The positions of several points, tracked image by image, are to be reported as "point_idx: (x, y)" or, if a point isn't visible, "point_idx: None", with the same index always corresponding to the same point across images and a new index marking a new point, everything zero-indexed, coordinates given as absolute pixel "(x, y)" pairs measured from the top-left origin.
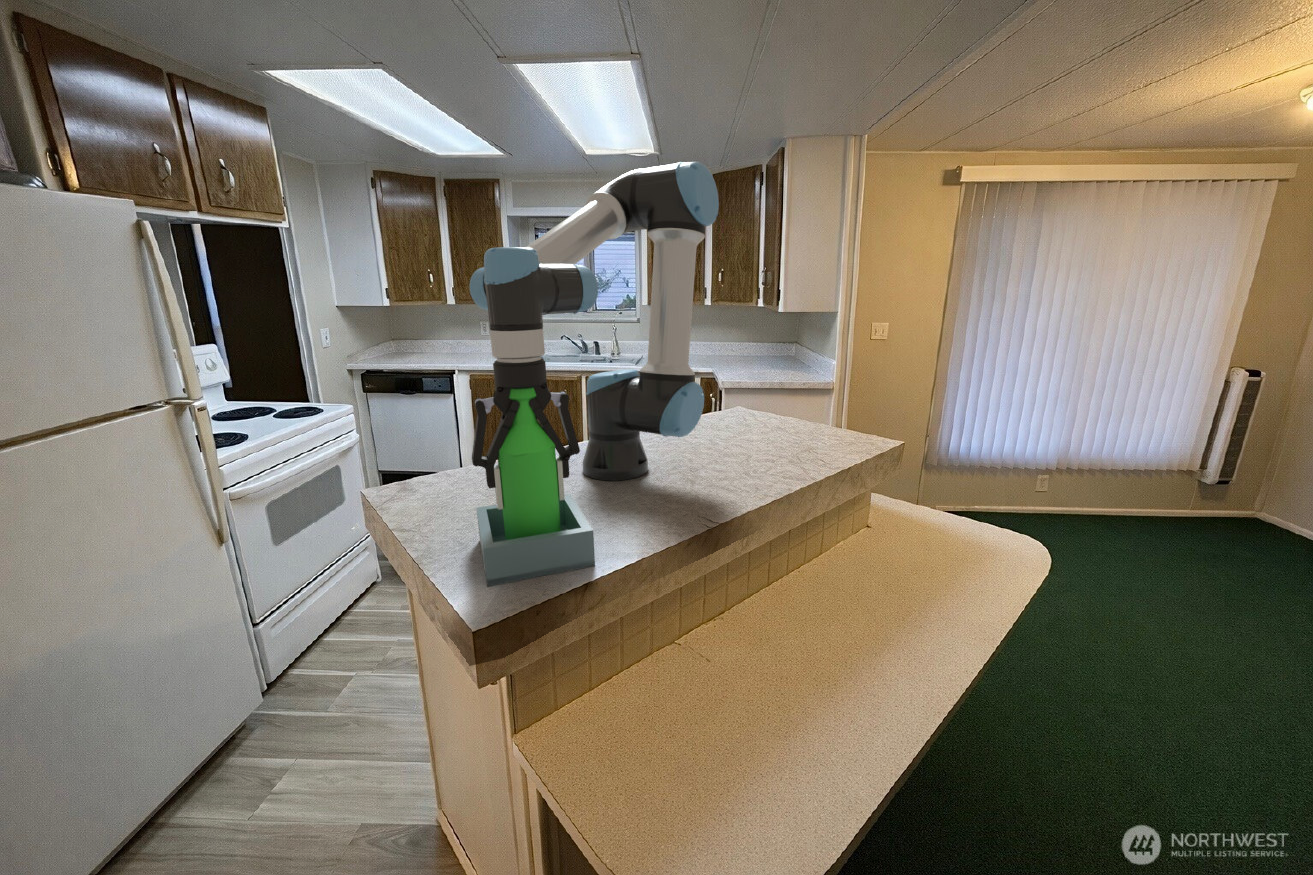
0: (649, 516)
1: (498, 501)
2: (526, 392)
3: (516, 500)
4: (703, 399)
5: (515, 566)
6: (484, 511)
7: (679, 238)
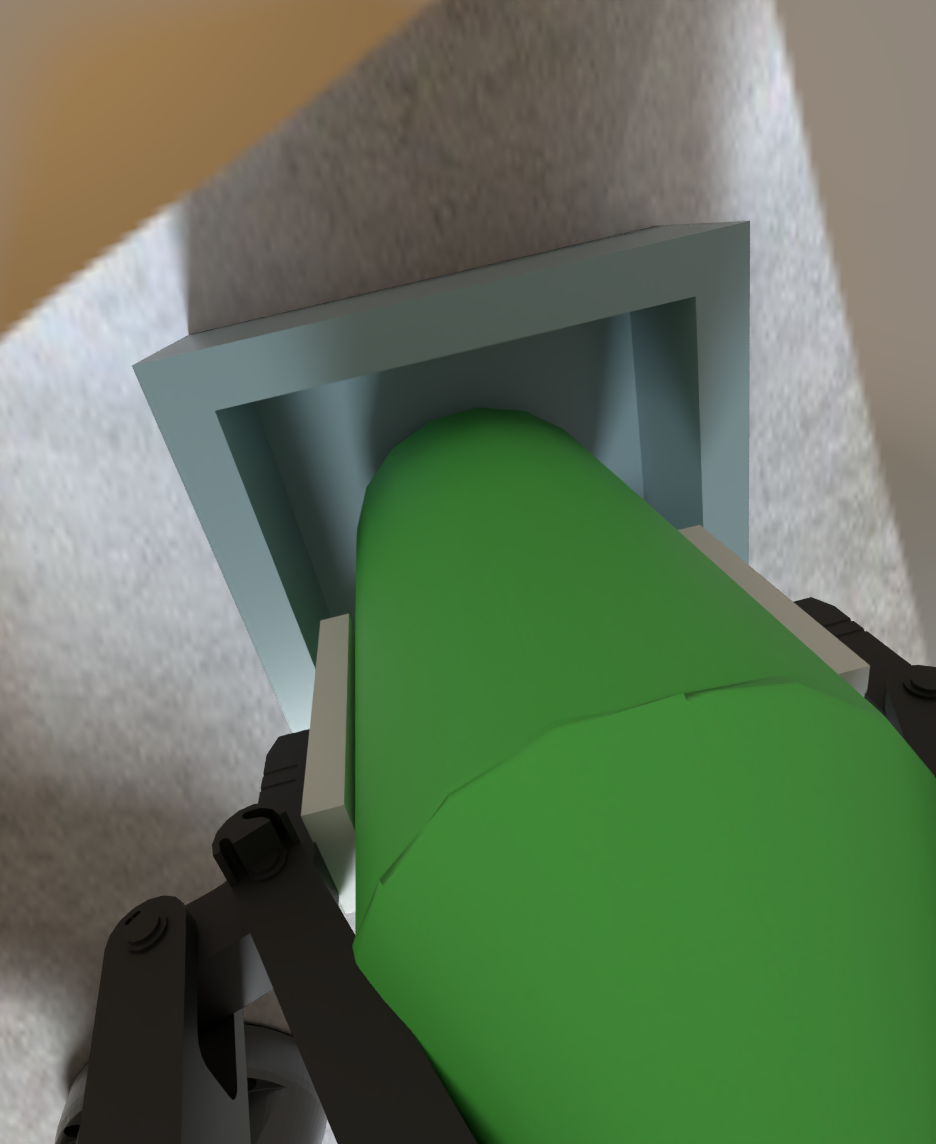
0: None
1: (718, 545)
2: None
3: (623, 496)
4: None
5: (554, 255)
6: None
7: None
